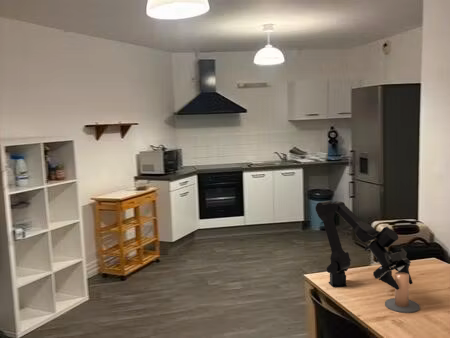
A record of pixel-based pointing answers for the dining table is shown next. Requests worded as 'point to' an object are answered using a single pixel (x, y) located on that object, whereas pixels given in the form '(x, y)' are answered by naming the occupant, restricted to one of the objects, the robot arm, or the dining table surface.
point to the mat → (409, 309)
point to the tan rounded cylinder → (402, 289)
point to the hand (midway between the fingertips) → (405, 286)
